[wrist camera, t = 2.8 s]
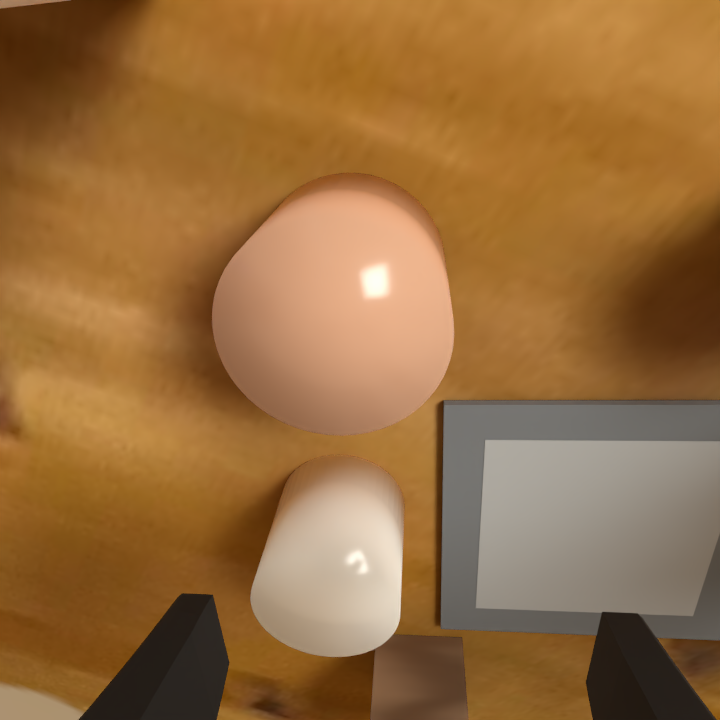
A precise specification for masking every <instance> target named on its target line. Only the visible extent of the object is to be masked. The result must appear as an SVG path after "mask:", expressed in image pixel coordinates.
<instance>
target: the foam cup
mask: <svg viewBox="0 0 720 720" xmlns="http://www.w3.org/2000/svg"><path fill="white" fill-rule="evenodd" d="M61 1H69V0H0V8H9V7H17V6H26V5H35V4H43V3H52V2H61Z"/></svg>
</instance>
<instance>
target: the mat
mask: <svg viewBox="0 0 720 720" xmlns="http://www.w3.org/2000/svg"><path fill="white" fill-rule="evenodd" d="M602 612H621V613H638V614H639V615H640V616H641V617H642V618H643V619H644V621H645V622H646V623H647V625H648V626H649V628H650V629H651V631H652V632H653V634H654V635H655V636H656V638H674V639H698V640H720V400H463V401H444V410H443V484H442V558H441V629H454V630H479V631H503V632H528V633H552V634H576V635H597V632H598V627H599V623H600V619H601V614H602Z"/></svg>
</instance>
